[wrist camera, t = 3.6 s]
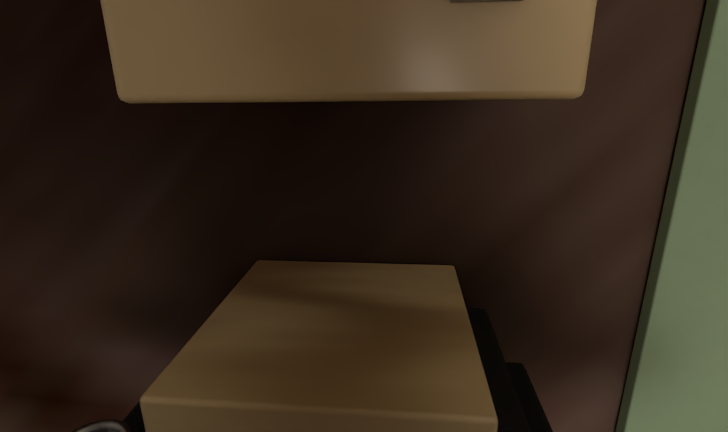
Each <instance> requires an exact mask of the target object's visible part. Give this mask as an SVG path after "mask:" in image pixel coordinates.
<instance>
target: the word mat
mask: <svg viewBox="0 0 728 432" xmlns="http://www.w3.org/2000/svg"><path fill="white" fill-rule="evenodd" d="M616 432H728V0H707V2H706V7H705V12H704V16H703V21H702V26H701V31H700V35H699V40H698V45H697V49H696V54H695V59H694V64H693V68H692V73H691V78H690V83H689V87H688V92H687V97H686V101H685V106H684V111H683V116H682V120H681V125H680V130H679V134H678V139H677V144H676V149H675V153H674V158H673V163H672V167H671V172H670V177H669V182H668V186H667V191H666V196H665V200H664V205H663V210H662V215H661V219H660V224H659V229H658V233H657V238H656V243H655V248H654V252H653V257H652V262H651V266H650V271H649V276H648V281H647V285H646V290H645V295H644V299H643V304H642V309H641V314H640V318H639V323H638V328H637V332H636V337H635V342H634V347H633V351H632V356H631V361H630V366H629V370H628V375H627V380H626V384H625V389H624V394H623V399H622V403H621V408H620V413H619V417H618V422H617V427H616Z"/></svg>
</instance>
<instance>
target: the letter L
mask: <svg viewBox="0 0 728 432" xmlns="http://www.w3.org/2000/svg"><path fill="white" fill-rule="evenodd" d="M140 407H141V411H142V416H143V421H144V426H145V430H146V432H497V430H498V418H497V414H496V411H495V407H494V404H493V400H492V397H491V393H490V390H489V386H488V383H487V379H486V376H485V372H484V369H483V365H482V362H481V358H480V355H479V351H478V348H477V344H476V341H475V337H474V334H473V330H472V327H471V323H470V320H469V316H468V313H467V309H466V306H465V302H464V299H463V295H462V292H461V288H460V285H459V281H458V278H457V274H456V271H455V268H454V266H452V265H420V264H383V263H345V262H308V261H271V260H258V261H256V263H255V264H254V265H253V266H252V267H251V268H250V270H249V271H248V272H247V273H246V274H245V276H244V277H243V278H242V279H241V280H240V281H239V283H238V284H237V285H236V286H235V287H234V288H233V290H232V291H231V292H230V293H229V294H228V295H227V297H226V298H225V299H224V300H223V301H222V302H221V304H220V305H219V306H218V307H217V308H216V309H215V311H214V312H213V313H212V314H211V315H210V316H209V318H208V319H207V320H206V321H205V322H204V323H203V325H202V326H201V327H200V328H199V329H198V331H197V332H196V333H195V334H194V335H193V336H192V338H191V339H190V340H189V341H188V342H187V343H186V345H185V346H184V347H183V348H182V349H181V350H180V352H179V353H178V354H177V355H176V356H175V357H174V359H173V360H172V361H171V362H170V363H169V364H168V366H167V367H166V368H165V369H164V370H163V371H162V373H161V374H160V375H159V376H158V377H157V378H156V380H155V381H154V382H153V383H152V384H151V385H150V387H149V388H148V389H147V390H146V391H145V393H144V394H143V395H142V396H141V399H140Z"/></svg>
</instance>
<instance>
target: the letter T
mask: <svg viewBox="0 0 728 432" xmlns="http://www.w3.org/2000/svg"><path fill="white" fill-rule="evenodd" d="M100 1H101V6H102V12H103V17H104V23H105V28H106V34H107V40H108V45H109V51H110V56H111V62H112V67H113V73H114V78H115V84H116V89H117V95H118V96H119V98H120V100H122V101H124V102H127V103H234V102H340V101H446V100H552V99H575V98H577V97H580V96H581V95H582V93H583V91H584V89H585V82H586V74H587V67H588V60H589V53H590V46H591V39H592V32H593V25H594V18H595V10H596V3H597V0H100Z"/></svg>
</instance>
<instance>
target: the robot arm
mask: <svg viewBox="0 0 728 432" xmlns="http://www.w3.org/2000/svg"><path fill="white" fill-rule="evenodd" d="M466 309H467V313H468V316H469V320H470V323H471V327H472V330H473V334H474V337H475V341H476V344H477V348H478V351H479V355H480V358H481V362H482V365H483V369H484V372H485V376H486V379H487V383H488V386H489V390H490V393H491V397H492V400H493V404H494V407H495V411H496V414H497V418H498V430H497V432H553V431H552V429H551V427H550V424H549V422H548V420H547V417H546V415H545V413H544V411H543V408H542V406H541V404H540V401H539V399H538V397H537V394H536V392H535V390H534V388H533V385H532V383H531V381H530V378H529V376H528V374H527V371H526V369H525V367H524V366H523V364H521V363H508V362H505V360H504V357H503V355H502V352H501V349H500V347H499V344H498V341H497V339H496V336H495V333H494V331H493V328H492V325H491V322H490V320H489V317H488V314H487V312H486V310H485V309H472V308H466ZM72 432H146V430H145V426H144V421H143V416H142V411H141V407H140V401H139V403H138V404H137V405H136V406H135V407H134V408H133V410H132V411H131V412H130V413H129V414H128V416H127V417H126V418H125V419H124V420H123V421H120V420H116V419H106V420H100V421H95V422H91V423H88V424H86V425H84V426H81V427H79V428H77V429H75V430H73V431H72Z"/></svg>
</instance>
